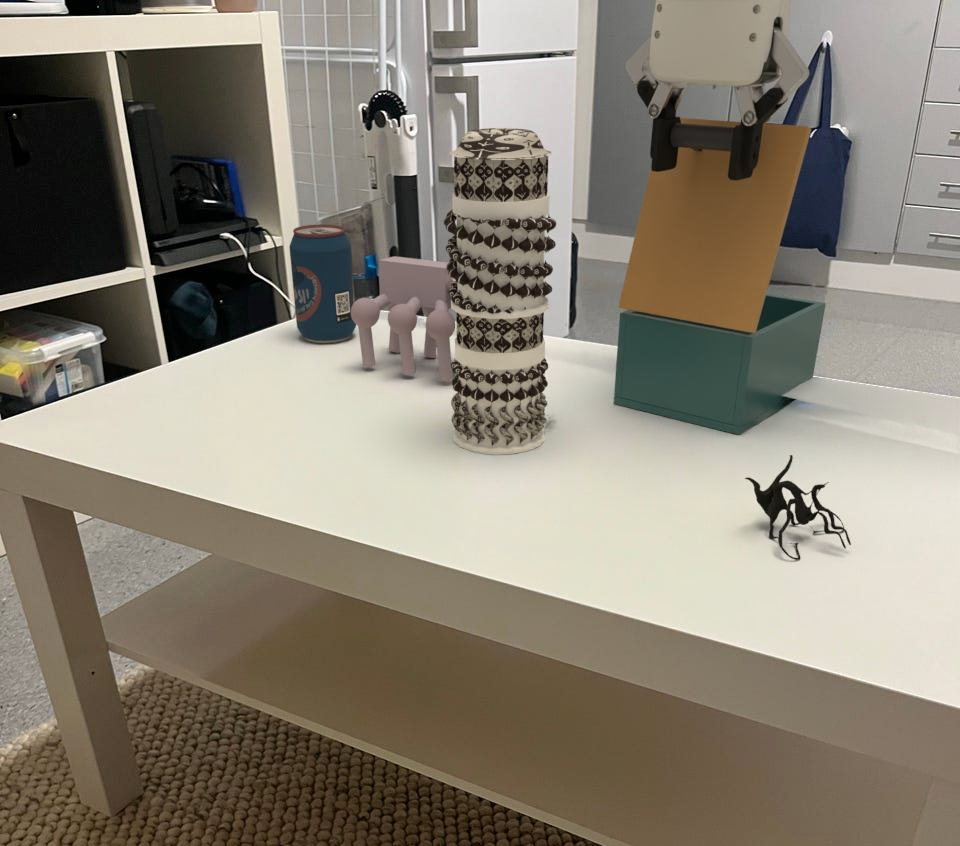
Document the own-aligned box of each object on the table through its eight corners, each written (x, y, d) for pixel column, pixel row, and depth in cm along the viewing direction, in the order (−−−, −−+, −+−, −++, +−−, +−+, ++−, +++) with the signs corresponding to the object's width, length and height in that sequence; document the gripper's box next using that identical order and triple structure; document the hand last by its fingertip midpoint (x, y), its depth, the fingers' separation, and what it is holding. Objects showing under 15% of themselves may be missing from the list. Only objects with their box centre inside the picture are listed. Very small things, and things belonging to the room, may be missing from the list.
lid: (666, 119, 90) (637, 100, 86) (811, 129, 83) (788, 109, 79) (622, 308, 95) (592, 300, 91) (755, 333, 88) (730, 326, 84)
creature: (865, 548, 76) (777, 496, 79) (895, 488, 72) (802, 436, 76) (810, 584, 71) (720, 527, 75) (840, 522, 67) (744, 465, 71)
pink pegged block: (556, 371, 108) (561, 237, 101) (511, 400, 101) (513, 257, 93) (398, 346, 116) (392, 220, 109) (345, 371, 109) (335, 237, 101)
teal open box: (691, 366, 110) (700, 282, 105) (810, 391, 103) (826, 302, 98) (613, 403, 100) (619, 312, 95) (739, 435, 92) (753, 338, 88)
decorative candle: (460, 460, 87) (455, 139, 74) (439, 423, 95) (431, 126, 82) (561, 451, 89) (574, 136, 76) (533, 416, 97) (541, 123, 83)
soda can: (286, 336, 120) (275, 229, 113) (332, 325, 124) (324, 221, 118) (322, 348, 116) (312, 237, 109) (369, 336, 120) (362, 228, 113)
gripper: (863, -90, 73) (817, 179, 83) (655, -81, 82) (635, 160, 92) (821, -97, 68) (777, 190, 78) (605, -87, 78) (589, 169, 87)
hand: (701, 172), depth 85 cm, fingers open, 6 cm apart
